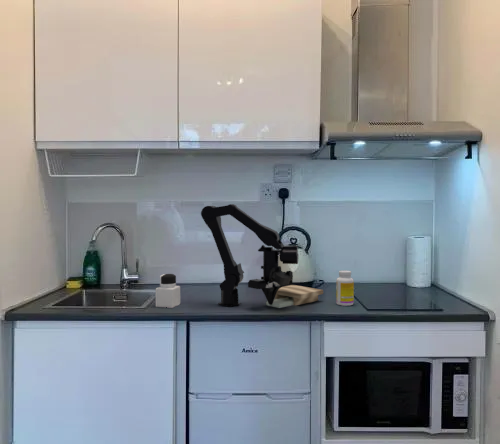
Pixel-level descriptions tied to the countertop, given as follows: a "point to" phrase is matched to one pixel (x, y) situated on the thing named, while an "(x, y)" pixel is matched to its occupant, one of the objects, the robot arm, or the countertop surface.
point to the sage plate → (282, 302)
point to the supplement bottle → (345, 289)
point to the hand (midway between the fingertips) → (270, 304)
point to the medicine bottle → (167, 292)
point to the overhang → (299, 294)
